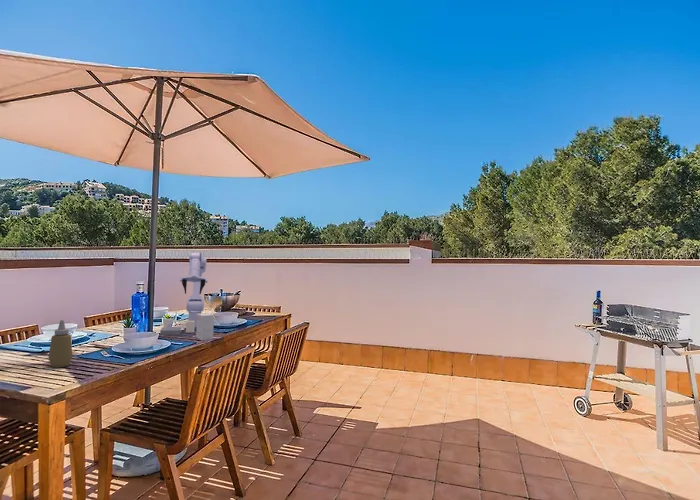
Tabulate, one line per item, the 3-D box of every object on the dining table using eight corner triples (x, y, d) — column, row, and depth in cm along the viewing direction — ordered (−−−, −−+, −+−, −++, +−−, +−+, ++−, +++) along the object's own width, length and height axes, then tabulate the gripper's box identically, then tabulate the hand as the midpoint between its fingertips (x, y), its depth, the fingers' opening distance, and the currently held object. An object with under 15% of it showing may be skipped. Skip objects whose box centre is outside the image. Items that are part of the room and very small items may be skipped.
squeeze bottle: (45, 369, 173) (47, 322, 173) (50, 364, 180) (52, 319, 180) (70, 368, 176) (72, 321, 176) (73, 362, 183) (75, 318, 183)
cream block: (186, 331, 259) (186, 320, 259) (194, 330, 260) (194, 320, 260) (185, 332, 255) (186, 321, 255) (194, 332, 256) (194, 321, 256)
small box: (213, 339, 239) (214, 314, 239) (201, 340, 235) (202, 315, 235) (207, 336, 245) (208, 312, 245) (195, 337, 241) (196, 313, 241)
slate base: (161, 331, 254) (162, 327, 254) (180, 331, 257) (181, 327, 257) (160, 335, 244) (160, 330, 244) (179, 334, 247) (179, 330, 247)
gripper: (180, 267, 250) (178, 289, 243) (208, 268, 254) (206, 290, 247) (181, 273, 256) (178, 295, 249) (207, 274, 260) (206, 295, 253)
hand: (192, 293), depth 248 cm, fingers open, 7 cm apart
